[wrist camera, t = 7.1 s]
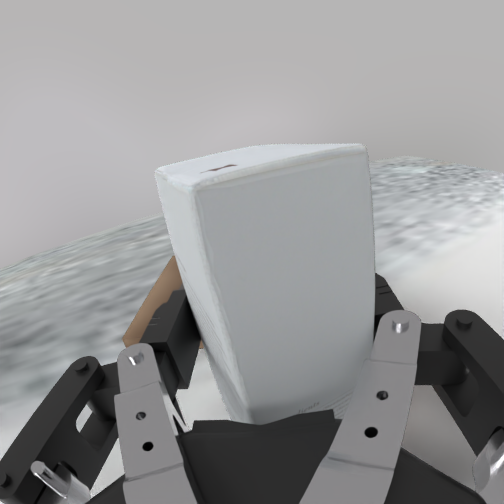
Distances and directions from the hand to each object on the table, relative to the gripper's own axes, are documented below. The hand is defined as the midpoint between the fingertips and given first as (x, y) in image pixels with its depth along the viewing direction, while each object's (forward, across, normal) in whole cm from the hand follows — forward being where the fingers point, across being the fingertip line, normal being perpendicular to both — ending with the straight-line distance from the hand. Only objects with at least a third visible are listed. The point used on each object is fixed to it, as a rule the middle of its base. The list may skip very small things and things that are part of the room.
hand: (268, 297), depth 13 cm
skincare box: (-2, 0, +6) cm, 7 cm away
